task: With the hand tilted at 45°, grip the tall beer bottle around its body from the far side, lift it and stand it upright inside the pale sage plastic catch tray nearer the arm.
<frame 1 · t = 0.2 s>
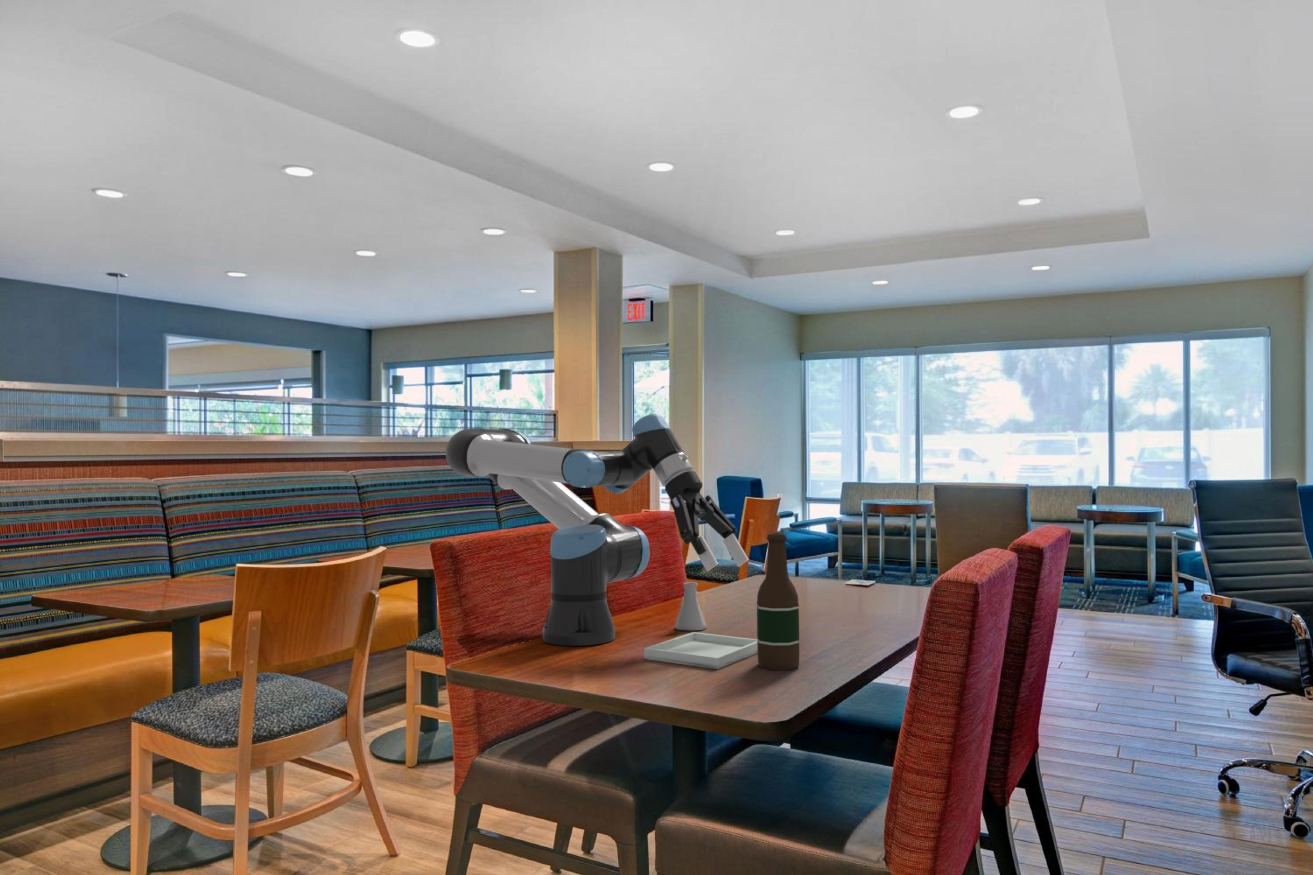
hand: (728, 565, 182), 16 cm above the table, tool tilted 35°, fingers open, 13 cm apart
beer bottle: (778, 666, 162), on the table
flask: (690, 629, 198), on the table
catch tray: (705, 654, 171), on the table
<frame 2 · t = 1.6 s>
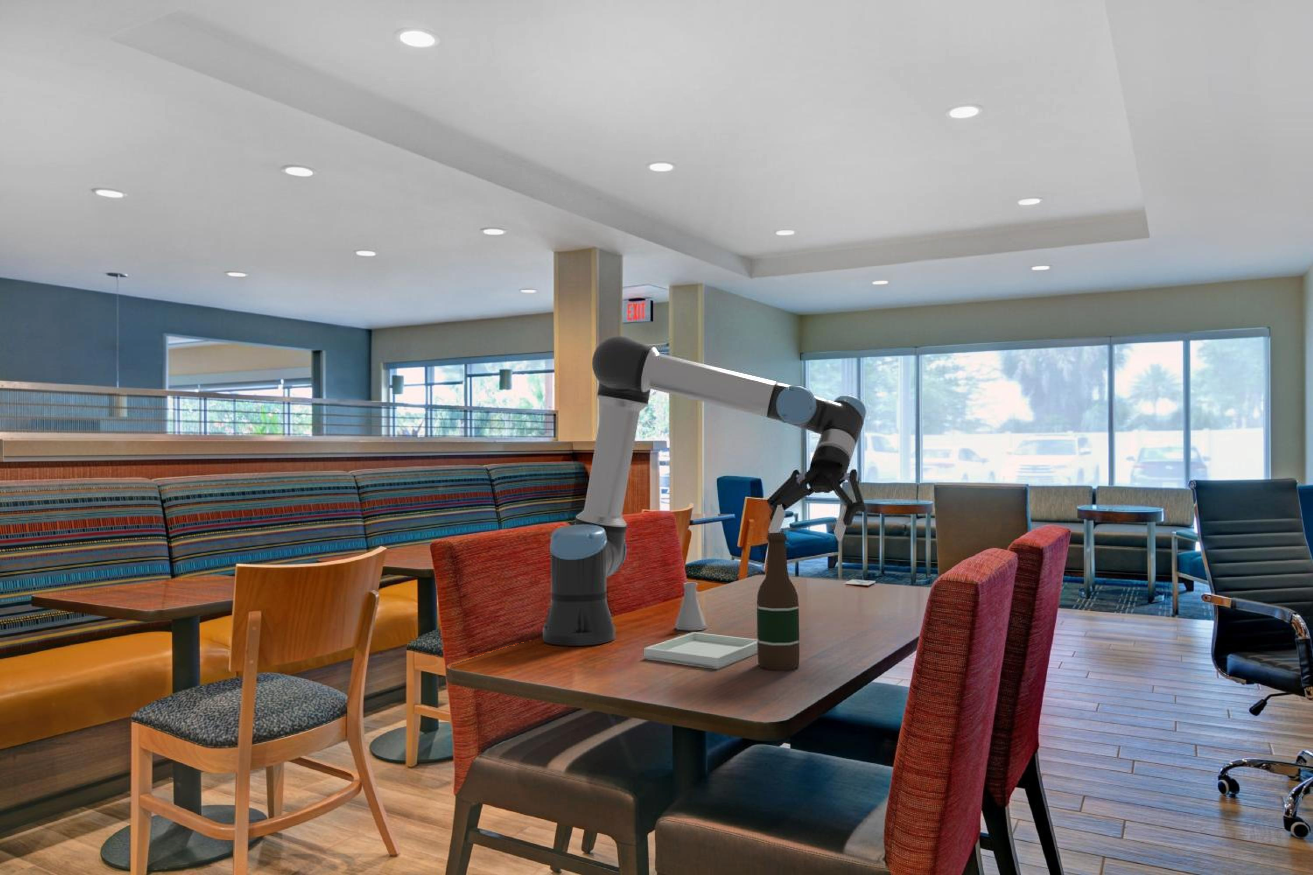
hand: (804, 535, 172), 23 cm above the table, tool tilted 45°, fingers open, 13 cm apart
nothing on the table moved.
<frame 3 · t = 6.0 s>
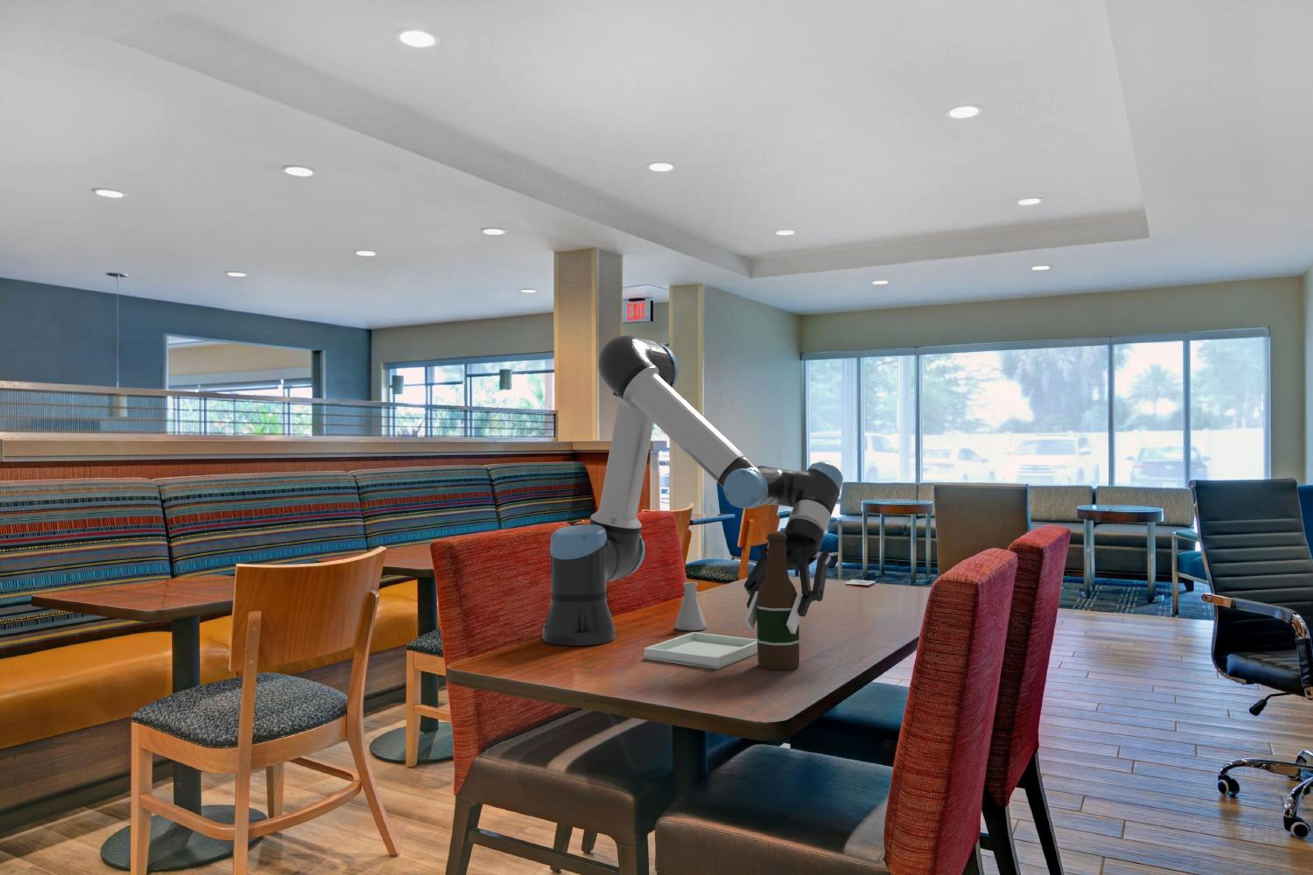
hand: (769, 626, 159), 8 cm above the table, tool tilted 45°, fingers closed on beer bottle, 8 cm apart
beer bottle: (778, 666, 162), on the table, touching gripper
everything else where it was.
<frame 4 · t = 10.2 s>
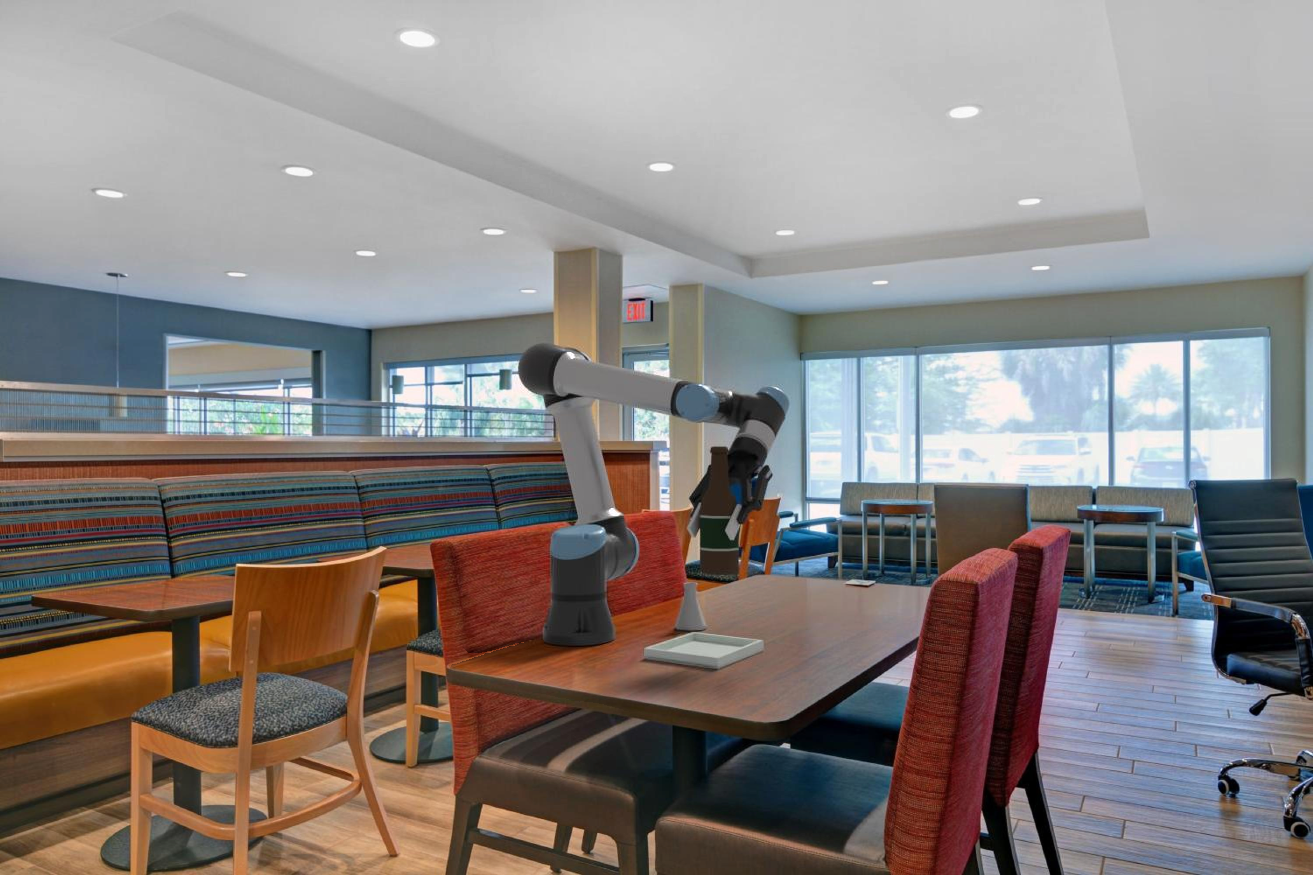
hand: (709, 533, 167), 24 cm above the table, tool tilted 45°, fingers closed on beer bottle, 8 cm apart
beer bottle: (719, 573, 170), point 16 cm above the table, touching gripper
everything else where it was.
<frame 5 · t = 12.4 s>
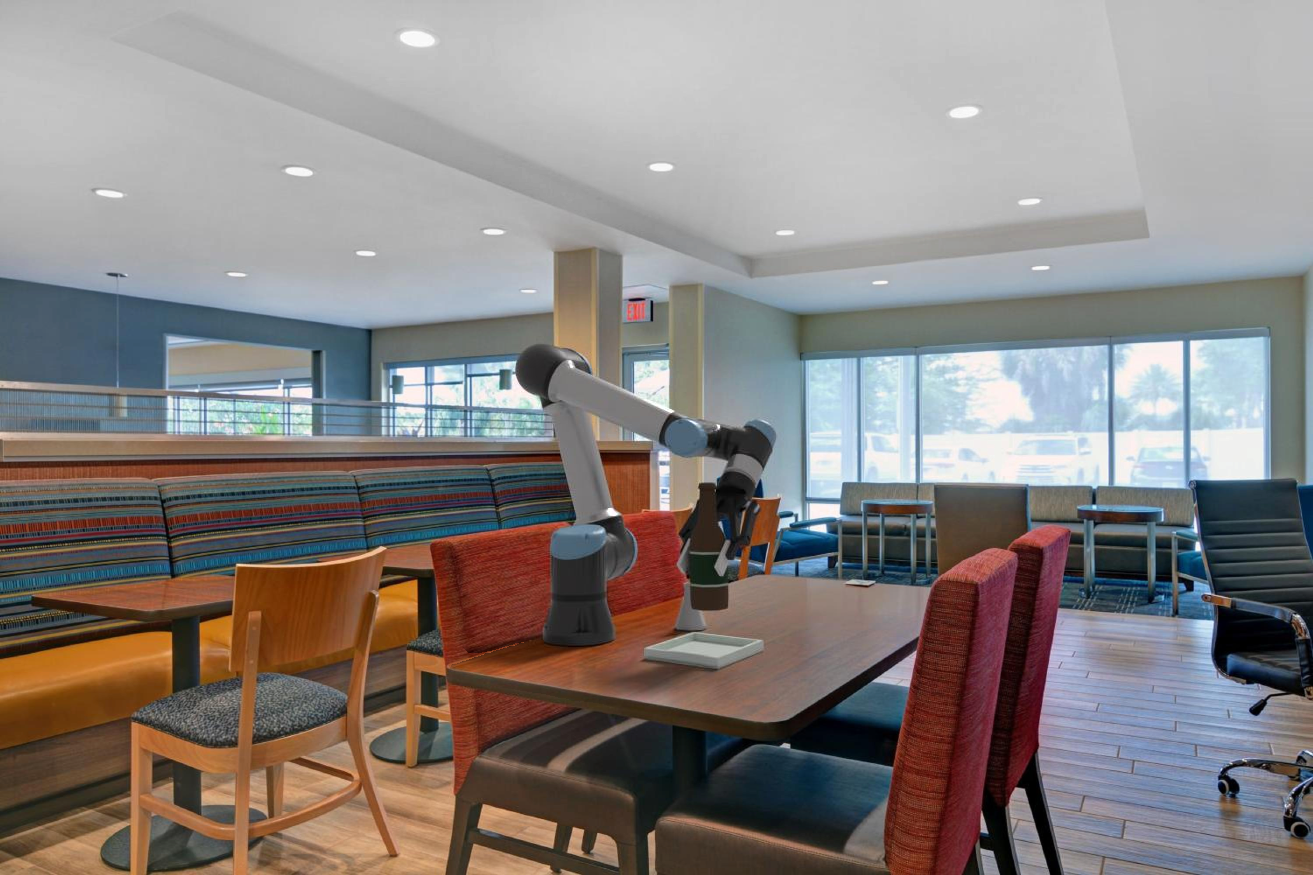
hand: (699, 570, 169), 17 cm above the table, tool tilted 45°, fingers closed on beer bottle, 8 cm apart
beer bottle: (709, 608, 171), point 9 cm above the table, touching gripper
everything else where it was.
when the fingers open (10 cm above the table, at t = 14.5 s): beer bottle drops 1 cm, resting on catch tray.
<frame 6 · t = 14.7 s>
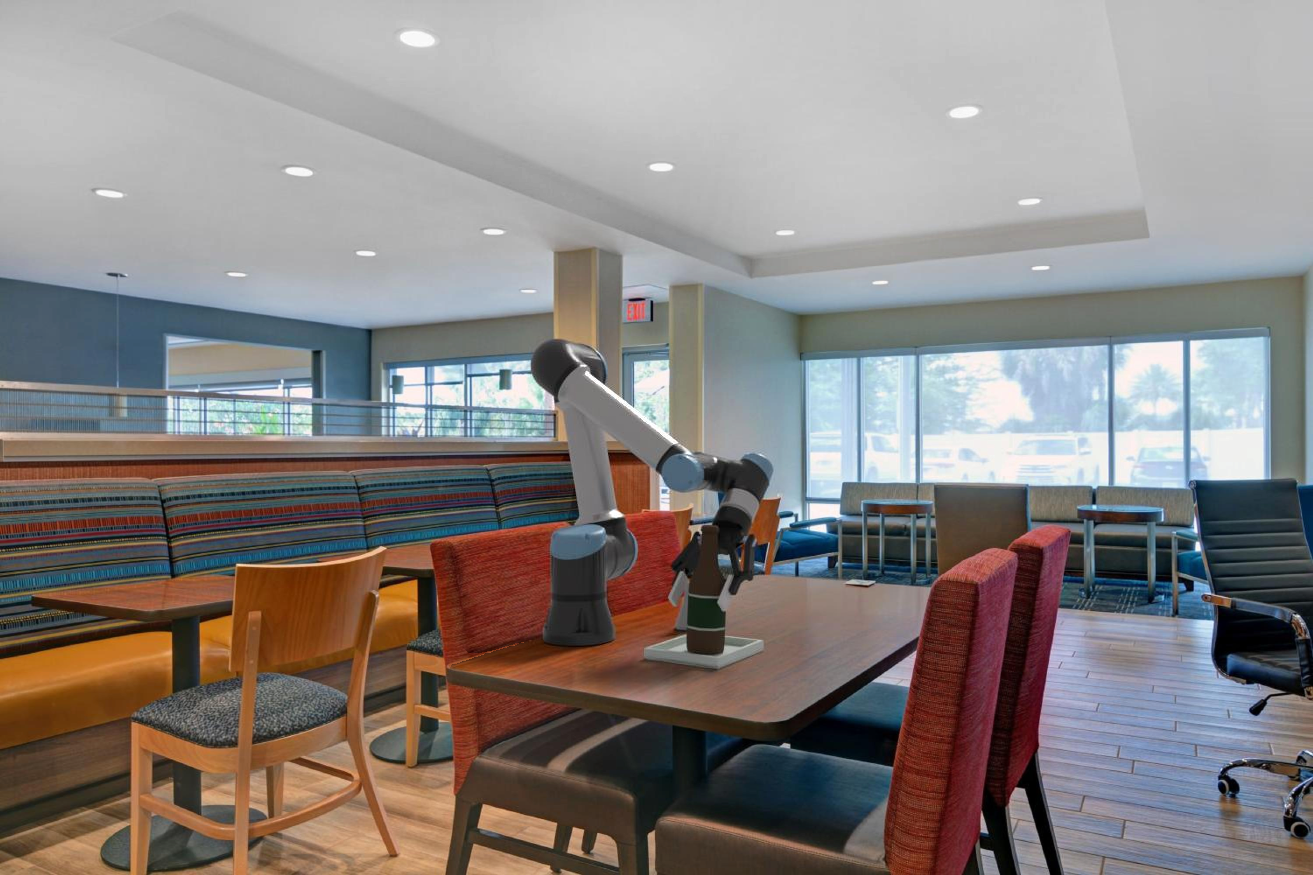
hand: (696, 604, 169), 10 cm above the table, tool tilted 45°, fingers open, 10 cm apart
beer bottle: (704, 651, 172), point 1 cm above the table, touching catch tray
everything else where it was.
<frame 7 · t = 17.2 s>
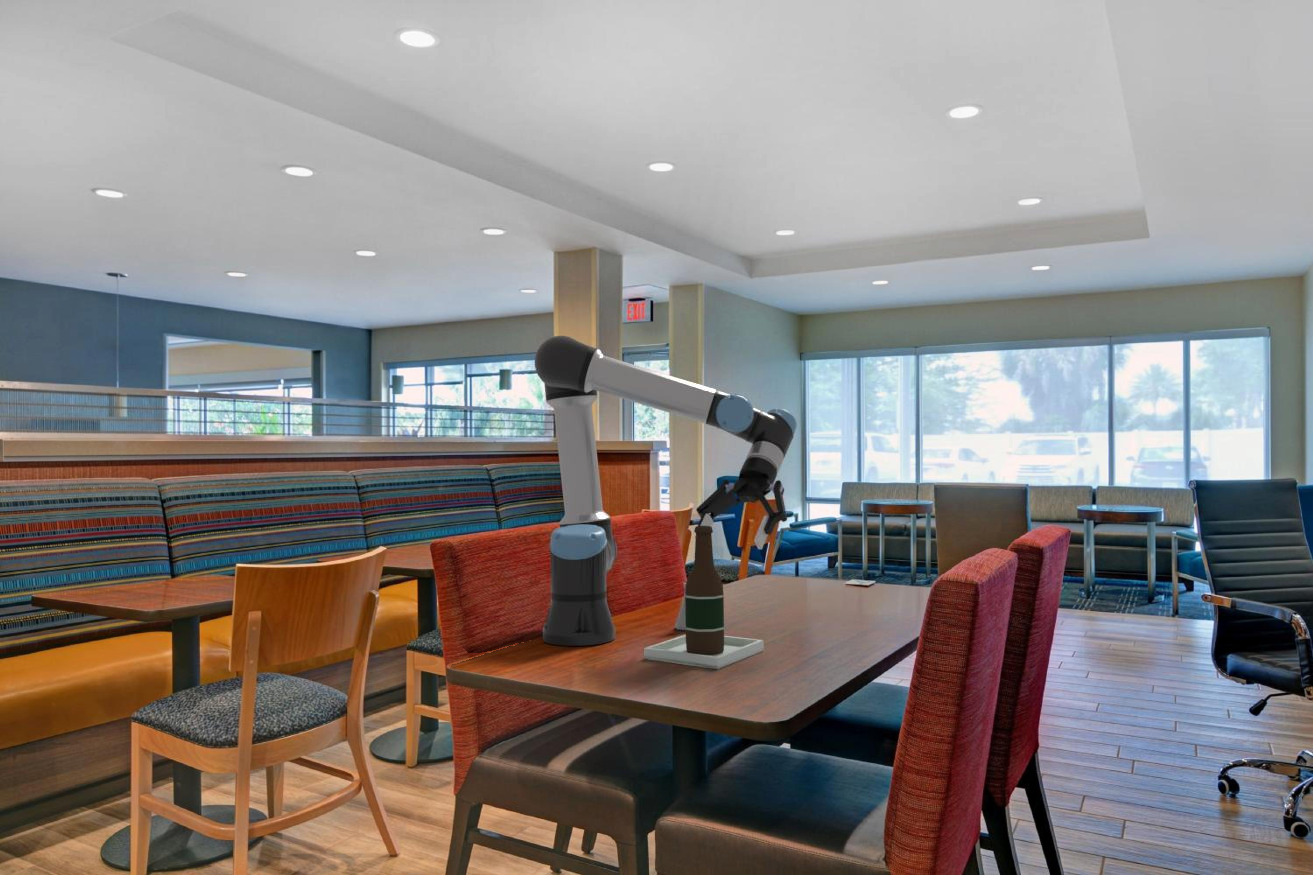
hand: (727, 543, 180), 20 cm above the table, tool tilted 45°, fingers open, 13 cm apart
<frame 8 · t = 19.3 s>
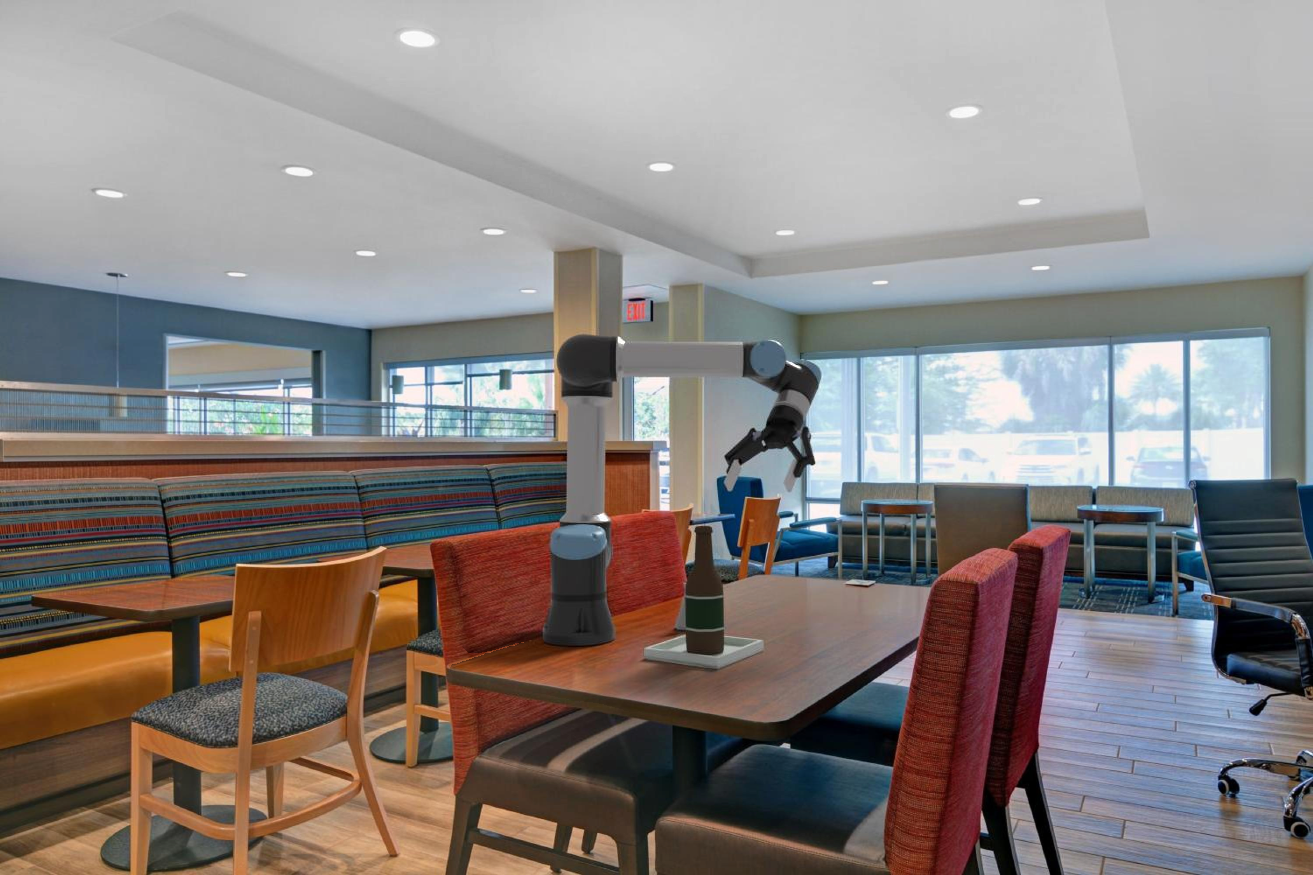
hand: (756, 487, 182), 32 cm above the table, tool tilted 45°, fingers open, 13 cm apart
nothing on the table moved.
at the end: beer bottle inside the target area on the catch tray (0.1 cm from its centre), point 0.4 cm above the catch tray's base; beer bottle tilted 0°; the gripper is holding nothing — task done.
